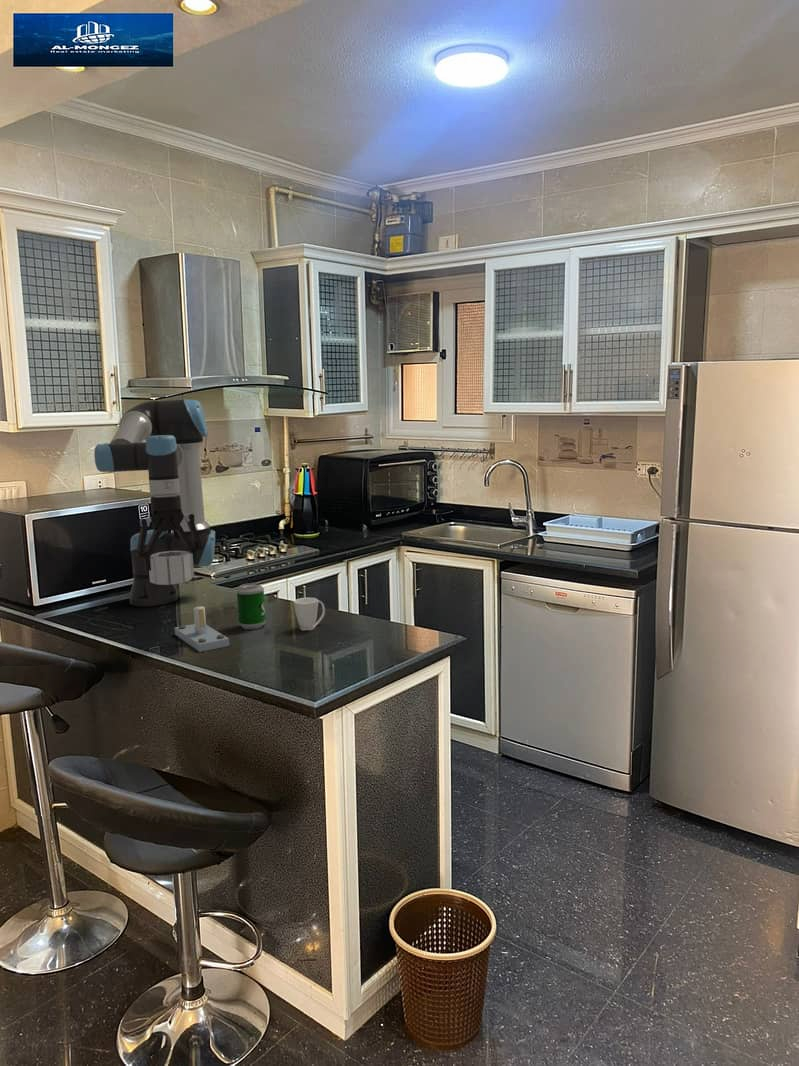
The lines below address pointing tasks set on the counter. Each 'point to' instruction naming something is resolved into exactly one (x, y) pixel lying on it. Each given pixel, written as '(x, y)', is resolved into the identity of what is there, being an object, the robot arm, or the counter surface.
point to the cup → (308, 612)
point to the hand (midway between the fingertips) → (172, 579)
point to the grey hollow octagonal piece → (172, 567)
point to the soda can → (251, 606)
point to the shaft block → (201, 633)
